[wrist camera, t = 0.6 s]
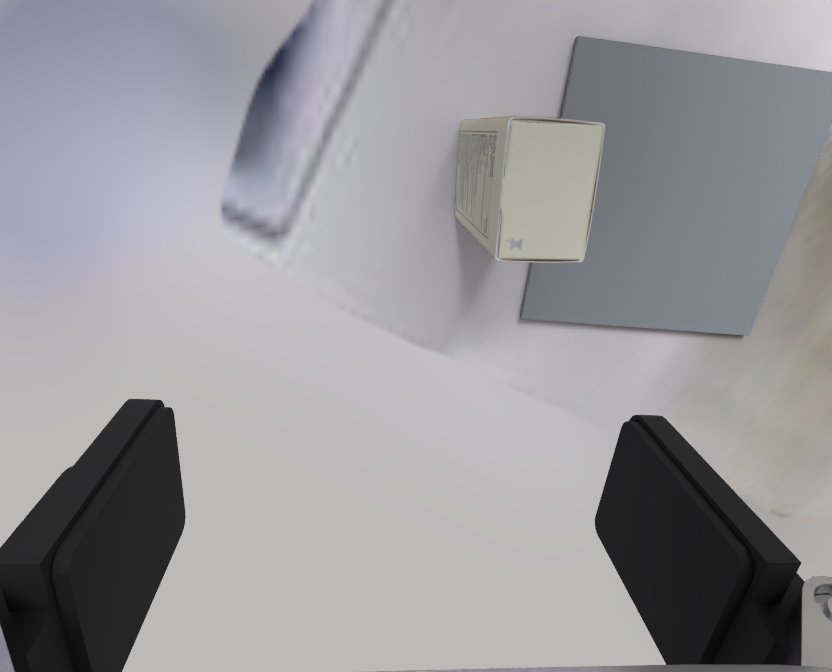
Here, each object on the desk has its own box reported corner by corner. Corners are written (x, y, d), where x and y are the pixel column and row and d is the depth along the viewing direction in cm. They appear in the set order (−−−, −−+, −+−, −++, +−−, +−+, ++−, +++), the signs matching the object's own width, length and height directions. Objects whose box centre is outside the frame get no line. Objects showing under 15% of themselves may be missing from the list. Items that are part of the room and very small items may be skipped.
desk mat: (576, 37, 31) (578, 36, 31) (844, 75, 33) (850, 74, 33) (520, 317, 38) (521, 319, 38) (745, 333, 40) (748, 335, 40)
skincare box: (516, 220, 35) (585, 271, 24) (452, 218, 35) (492, 269, 24) (528, 117, 33) (611, 120, 21) (460, 113, 32) (509, 115, 21)
